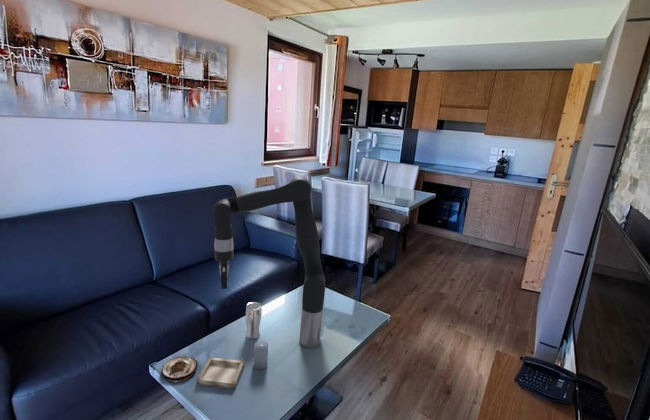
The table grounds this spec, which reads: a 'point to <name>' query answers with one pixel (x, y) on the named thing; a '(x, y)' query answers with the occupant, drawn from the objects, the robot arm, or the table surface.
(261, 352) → the grey rounded cylinder
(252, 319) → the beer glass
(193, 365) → the stuffed round slice
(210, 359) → the birch tray
